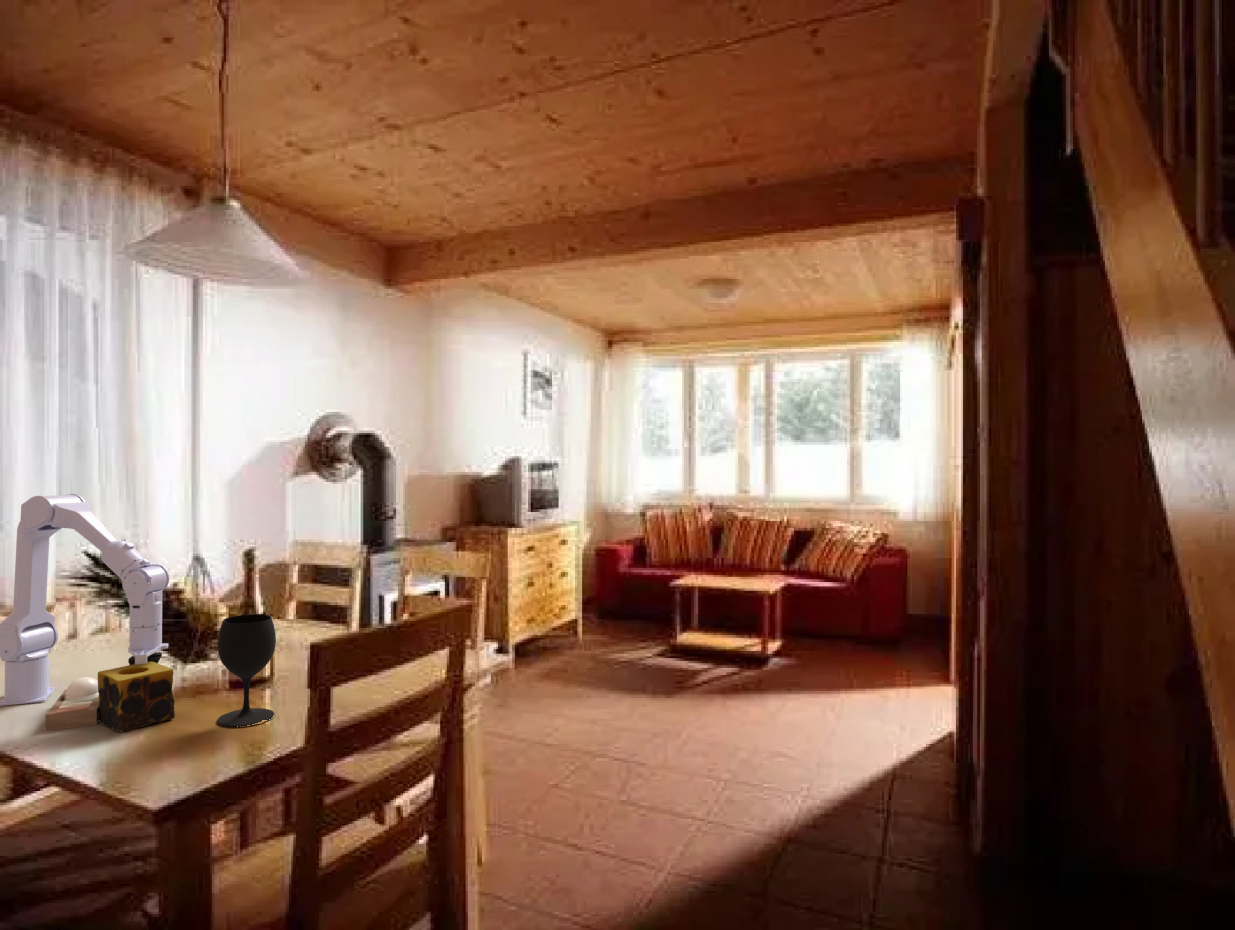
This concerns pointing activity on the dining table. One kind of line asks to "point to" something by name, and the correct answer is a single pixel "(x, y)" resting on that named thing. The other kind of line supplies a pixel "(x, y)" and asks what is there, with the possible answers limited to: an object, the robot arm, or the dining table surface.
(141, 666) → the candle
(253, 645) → the wine glass
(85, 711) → the brown shallow box
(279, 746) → the dining table surface
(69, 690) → the dome button
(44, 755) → the dining table surface
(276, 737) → the dining table surface
